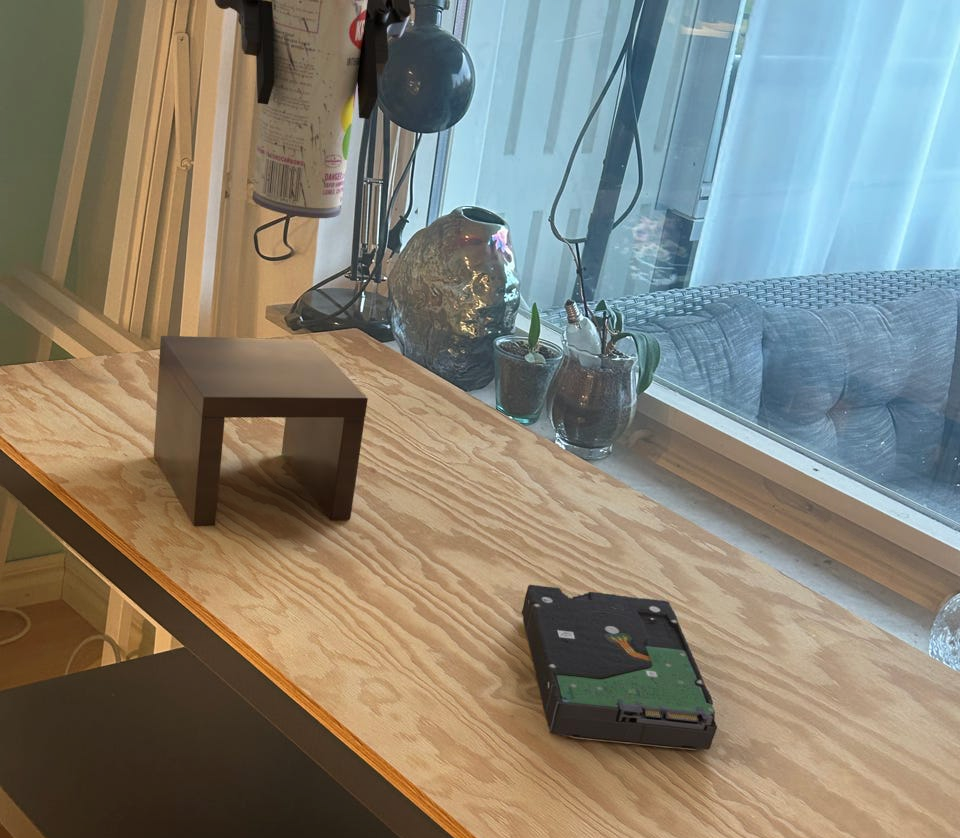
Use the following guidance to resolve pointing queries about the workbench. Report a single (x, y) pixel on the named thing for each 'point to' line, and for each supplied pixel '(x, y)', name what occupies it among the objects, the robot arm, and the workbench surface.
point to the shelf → (256, 415)
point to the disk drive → (616, 670)
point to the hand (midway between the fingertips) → (317, 99)
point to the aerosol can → (309, 106)
